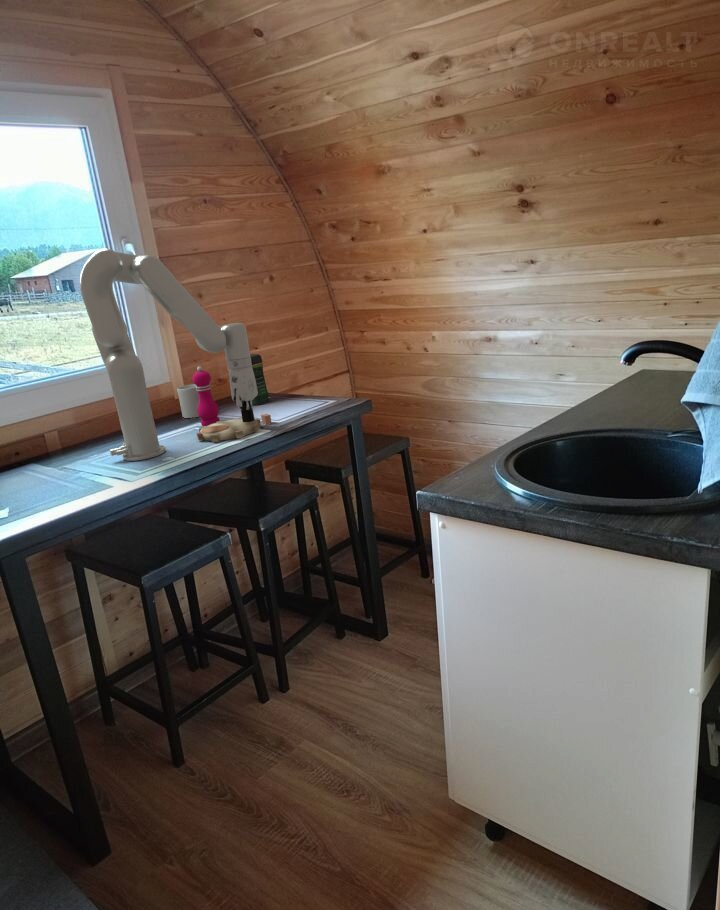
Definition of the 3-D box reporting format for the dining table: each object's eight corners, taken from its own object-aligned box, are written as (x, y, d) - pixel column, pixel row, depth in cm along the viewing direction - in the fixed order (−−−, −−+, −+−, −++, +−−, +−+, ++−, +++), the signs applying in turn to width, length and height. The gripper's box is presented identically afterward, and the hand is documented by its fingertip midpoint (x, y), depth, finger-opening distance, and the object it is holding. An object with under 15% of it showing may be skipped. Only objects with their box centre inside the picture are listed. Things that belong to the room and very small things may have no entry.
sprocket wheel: (208, 445, 214) (204, 426, 212) (190, 434, 232) (186, 416, 230) (271, 429, 223) (268, 411, 221) (249, 420, 240) (246, 402, 238)
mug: (178, 419, 259) (171, 389, 256) (192, 413, 267) (186, 384, 263) (204, 418, 254) (198, 388, 251) (218, 412, 261) (213, 383, 258)
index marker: (266, 425, 232) (264, 416, 231) (262, 423, 234) (260, 415, 233) (271, 423, 233) (270, 414, 232) (268, 422, 235) (266, 413, 234)
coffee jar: (273, 401, 268) (264, 351, 262) (257, 406, 262) (248, 356, 257) (256, 399, 274) (247, 351, 269) (240, 405, 269) (231, 356, 263)
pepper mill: (217, 426, 240) (205, 367, 235) (197, 427, 242) (185, 369, 236) (224, 420, 247) (213, 363, 241) (204, 422, 248) (193, 365, 243)
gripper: (240, 367, 213) (249, 427, 218) (259, 358, 227) (268, 415, 232) (217, 369, 215) (227, 428, 220) (238, 360, 229) (247, 416, 234)
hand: (248, 421), depth 226 cm, fingers closed
